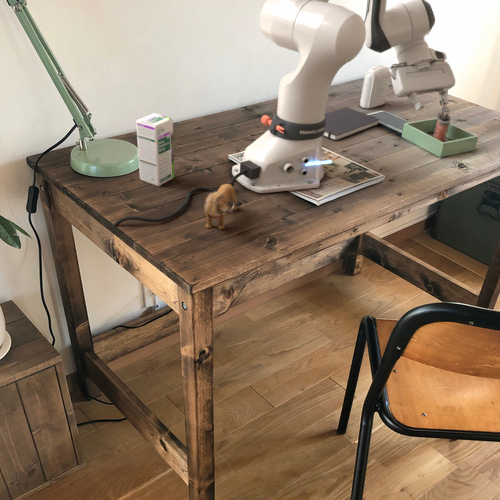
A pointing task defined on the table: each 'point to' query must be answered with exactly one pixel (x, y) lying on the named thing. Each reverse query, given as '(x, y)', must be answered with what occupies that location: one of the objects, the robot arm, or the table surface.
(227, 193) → the tan animal figure
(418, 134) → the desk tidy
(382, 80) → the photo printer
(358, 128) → the notebook
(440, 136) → the lighter
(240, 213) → the table surface
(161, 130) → the syrup box
